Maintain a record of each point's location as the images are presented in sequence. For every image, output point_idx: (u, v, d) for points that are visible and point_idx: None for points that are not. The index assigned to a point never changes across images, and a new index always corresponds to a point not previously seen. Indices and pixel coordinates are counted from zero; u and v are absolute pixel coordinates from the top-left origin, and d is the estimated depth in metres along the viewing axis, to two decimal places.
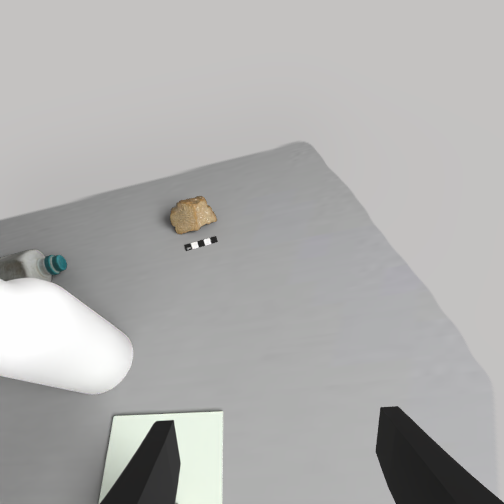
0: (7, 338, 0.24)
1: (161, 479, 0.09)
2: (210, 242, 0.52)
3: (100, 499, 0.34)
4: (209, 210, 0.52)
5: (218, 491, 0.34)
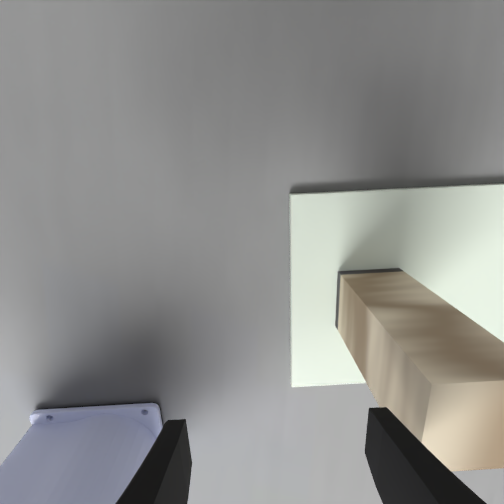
0: None
1: (175, 478, 0.09)
2: None
3: (418, 191, 0.18)
4: None
5: None
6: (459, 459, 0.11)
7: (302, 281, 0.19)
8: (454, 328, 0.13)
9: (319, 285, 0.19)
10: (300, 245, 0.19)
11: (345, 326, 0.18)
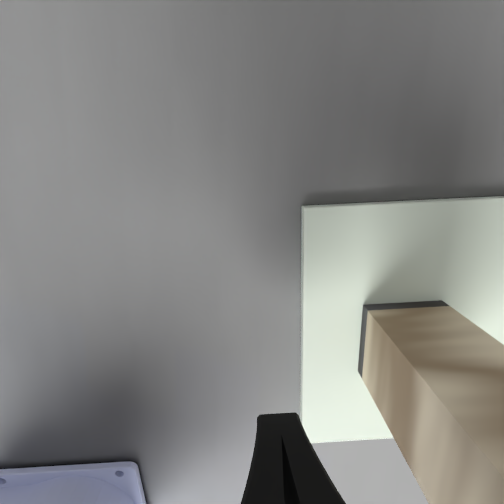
0: None
1: None
2: None
3: (471, 202, 0.14)
4: None
5: None
6: None
7: (317, 317, 0.15)
8: None
9: (339, 322, 0.15)
10: (315, 272, 0.14)
11: (374, 379, 0.14)
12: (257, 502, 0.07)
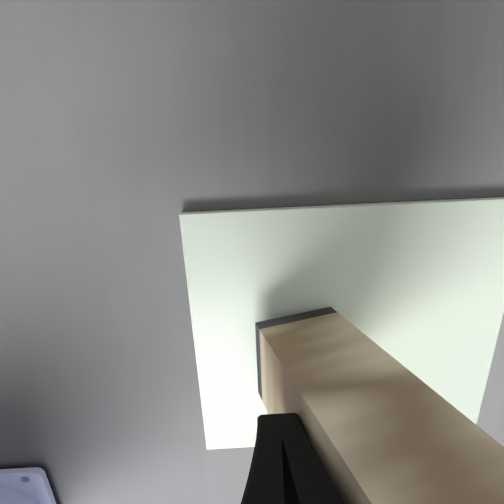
0: None
1: None
2: None
3: (348, 209, 0.13)
4: None
5: None
6: None
7: (206, 323, 0.15)
8: (431, 425, 0.08)
9: (229, 328, 0.15)
10: (198, 279, 0.14)
11: (272, 402, 0.13)
12: (257, 502, 0.07)
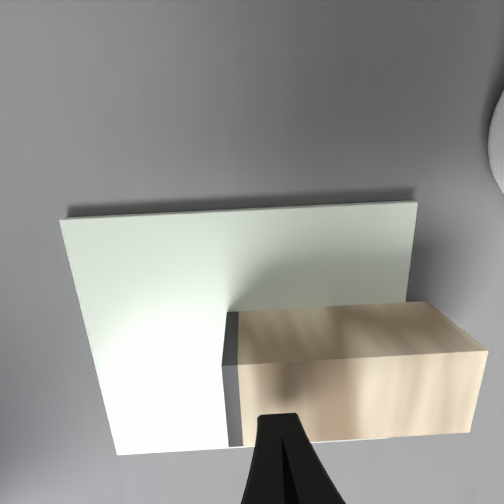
0: None
1: None
2: None
3: (232, 214, 0.13)
4: None
5: None
6: None
7: (101, 329, 0.15)
8: (375, 316, 0.14)
9: (125, 334, 0.15)
10: (87, 284, 0.14)
11: None
12: (257, 502, 0.07)
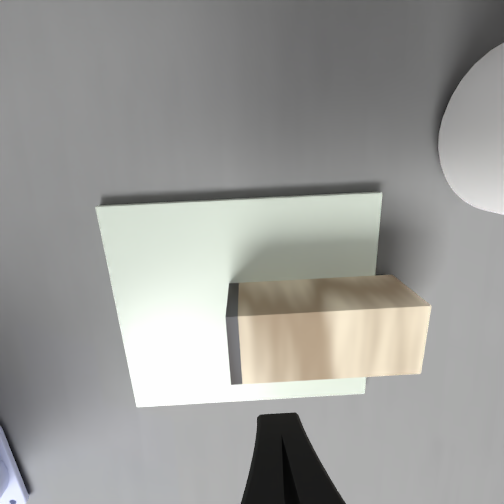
0: None
1: None
2: None
3: (233, 202, 0.17)
4: None
5: (249, 396, 0.21)
6: None
7: (126, 297, 0.18)
8: (349, 285, 0.17)
9: (145, 301, 0.18)
10: (116, 260, 0.17)
11: (268, 364, 0.15)
12: (257, 502, 0.07)
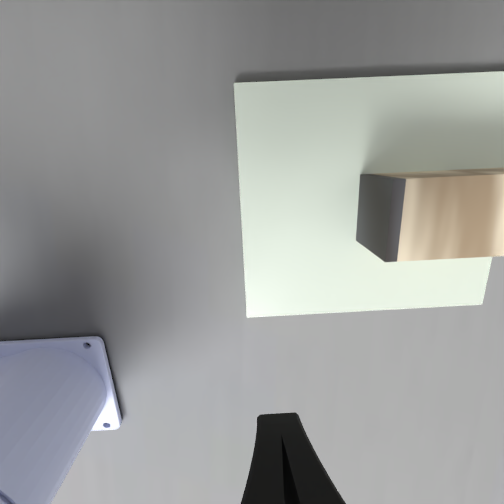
0: None
1: None
2: None
3: (377, 79, 0.16)
4: None
5: (363, 305, 0.20)
6: None
7: (252, 189, 0.17)
8: (493, 169, 0.16)
9: (271, 195, 0.18)
10: (247, 145, 0.17)
11: (427, 237, 0.14)
12: (257, 502, 0.07)
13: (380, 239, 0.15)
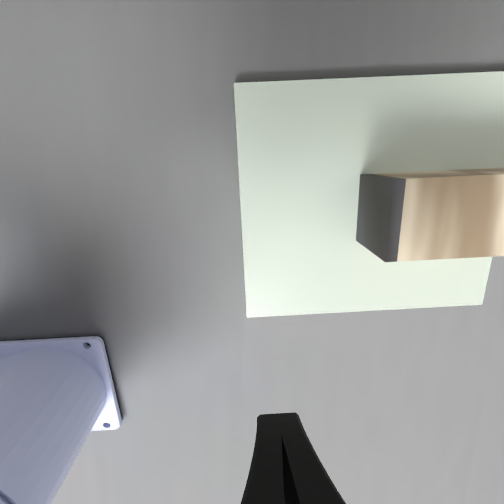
0: None
1: None
2: None
3: (377, 79, 0.16)
4: None
5: (363, 305, 0.20)
6: None
7: (252, 189, 0.17)
8: (493, 169, 0.16)
9: (271, 195, 0.18)
10: (247, 145, 0.17)
11: (427, 237, 0.14)
12: (257, 502, 0.07)
13: (380, 239, 0.15)
